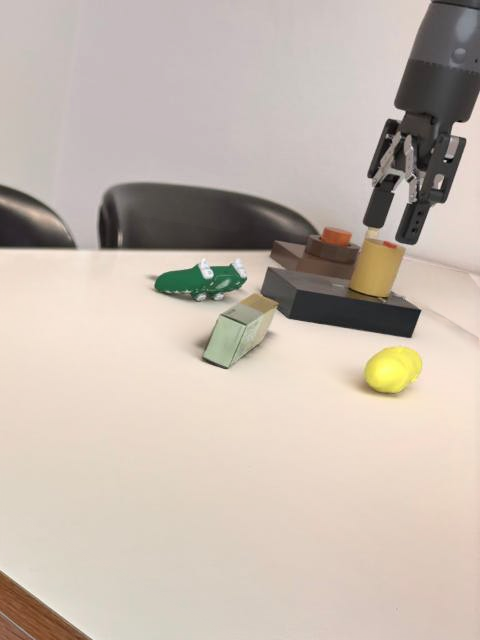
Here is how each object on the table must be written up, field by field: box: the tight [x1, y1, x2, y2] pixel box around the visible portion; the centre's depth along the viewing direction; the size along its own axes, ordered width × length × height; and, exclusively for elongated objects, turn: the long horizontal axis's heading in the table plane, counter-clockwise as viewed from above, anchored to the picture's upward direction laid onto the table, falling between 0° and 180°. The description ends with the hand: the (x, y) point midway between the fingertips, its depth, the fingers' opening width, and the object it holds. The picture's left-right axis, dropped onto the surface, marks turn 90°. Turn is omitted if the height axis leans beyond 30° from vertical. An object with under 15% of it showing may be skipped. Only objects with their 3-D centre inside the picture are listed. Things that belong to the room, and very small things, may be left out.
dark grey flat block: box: [259, 266, 422, 339], centre depth 116 cm, size 14×10×3 cm
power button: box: [321, 226, 353, 246], centre depth 136 cm, size 4×4×2 cm
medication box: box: [201, 292, 279, 370], centre depth 94 cm, size 12×3×4 cm, turn 154°
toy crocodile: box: [153, 257, 248, 302], centre depth 111 cm, size 9×4×6 cm
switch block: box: [269, 234, 362, 280], centre depth 137 cm, size 12×10×4 cm
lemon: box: [363, 345, 423, 394], centre depth 92 cm, size 4×8×4 cm, turn 137°
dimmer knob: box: [349, 238, 407, 297], centre depth 114 cm, size 4×4×5 cm
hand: (387, 235), depth 112 cm, fingers open, 8 cm apart
